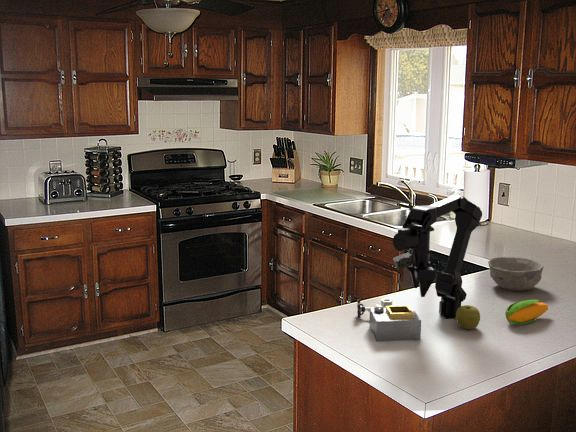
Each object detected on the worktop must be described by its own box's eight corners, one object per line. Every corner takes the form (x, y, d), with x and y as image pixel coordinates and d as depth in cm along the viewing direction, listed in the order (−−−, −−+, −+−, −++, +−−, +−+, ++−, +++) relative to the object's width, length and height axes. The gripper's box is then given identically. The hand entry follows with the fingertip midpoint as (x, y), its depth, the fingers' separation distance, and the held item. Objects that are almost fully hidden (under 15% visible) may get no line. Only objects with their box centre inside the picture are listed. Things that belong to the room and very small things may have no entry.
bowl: (475, 284, 251) (476, 260, 249) (514, 277, 260) (515, 254, 258) (513, 299, 233) (515, 273, 231) (554, 291, 241) (555, 266, 239)
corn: (499, 301, 207) (538, 291, 218) (497, 323, 209) (535, 311, 220) (518, 309, 201) (557, 298, 212) (515, 331, 203) (554, 319, 214)
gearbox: (411, 326, 208) (411, 302, 206) (420, 340, 196) (421, 315, 194) (369, 327, 207) (369, 303, 205) (376, 341, 195) (376, 316, 194)
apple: (469, 322, 211) (470, 302, 209) (484, 330, 203) (486, 309, 202) (450, 325, 208) (451, 304, 206) (465, 333, 201) (466, 312, 199)
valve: (391, 315, 218) (357, 314, 219) (391, 297, 217) (357, 296, 218) (393, 321, 212) (357, 321, 213) (393, 303, 211) (357, 302, 211)
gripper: (389, 239, 210) (388, 284, 213) (402, 253, 192) (401, 302, 195) (422, 239, 211) (420, 283, 214) (438, 253, 192) (436, 301, 195)
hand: (419, 292), depth 204 cm, fingers open, 9 cm apart
